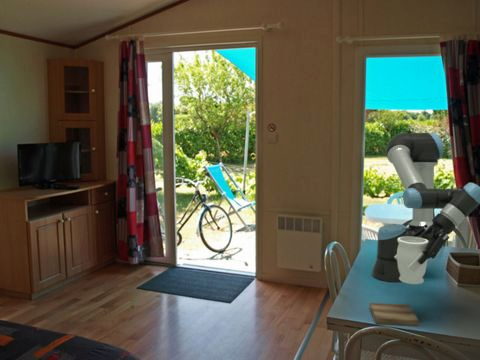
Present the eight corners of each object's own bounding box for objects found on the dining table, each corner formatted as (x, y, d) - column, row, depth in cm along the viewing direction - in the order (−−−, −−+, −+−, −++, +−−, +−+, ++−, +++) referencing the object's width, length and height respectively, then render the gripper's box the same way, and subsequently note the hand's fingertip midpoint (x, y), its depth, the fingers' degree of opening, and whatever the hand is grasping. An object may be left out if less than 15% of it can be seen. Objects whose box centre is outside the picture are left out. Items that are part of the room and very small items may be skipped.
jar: (427, 287, 160) (429, 244, 158) (395, 283, 163) (397, 242, 161) (426, 277, 170) (427, 237, 168) (396, 274, 173) (397, 235, 171)
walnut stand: (369, 308, 175) (369, 302, 174) (408, 309, 173) (408, 304, 173) (376, 323, 161) (376, 318, 161) (418, 326, 159) (418, 320, 159)
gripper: (473, 234, 154) (426, 282, 155) (437, 220, 177) (396, 261, 177) (459, 219, 153) (412, 267, 153) (424, 206, 176) (383, 248, 176)
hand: (403, 264), depth 165 cm, fingers closed on jar, 10 cm apart
